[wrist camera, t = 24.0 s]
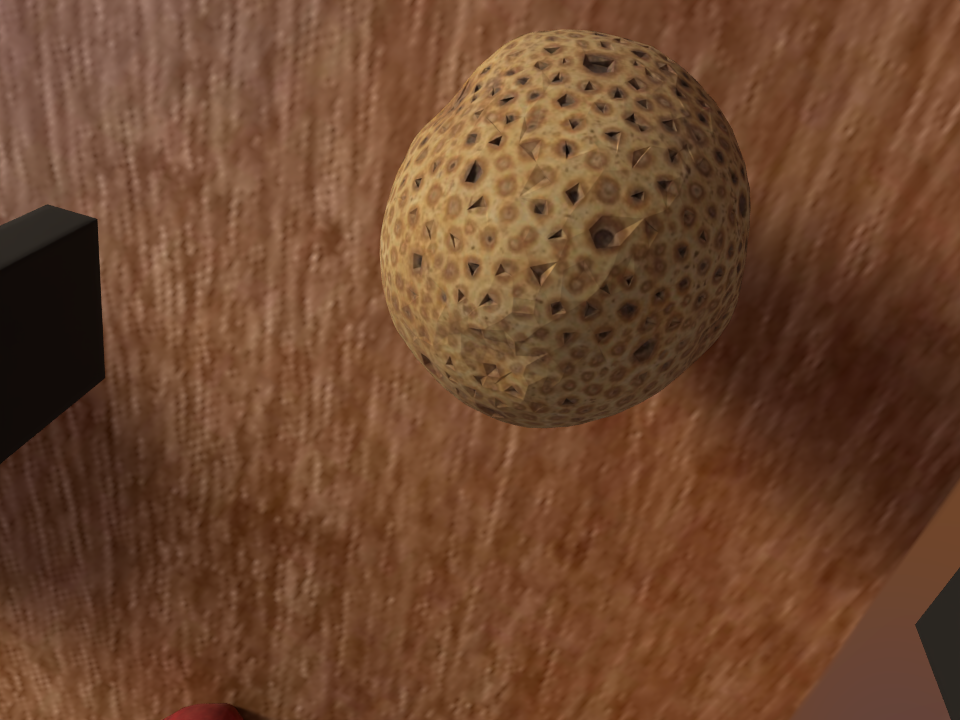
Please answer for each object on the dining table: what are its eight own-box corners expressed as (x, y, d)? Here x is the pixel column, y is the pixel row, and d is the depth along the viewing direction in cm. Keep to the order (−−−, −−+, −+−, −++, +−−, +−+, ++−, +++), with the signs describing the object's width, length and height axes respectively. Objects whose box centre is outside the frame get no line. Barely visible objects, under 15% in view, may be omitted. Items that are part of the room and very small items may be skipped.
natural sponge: (440, 5, 22) (303, 48, 13) (765, 22, 20) (847, 83, 12) (438, 296, 26) (335, 470, 18) (705, 326, 25) (733, 531, 16)
